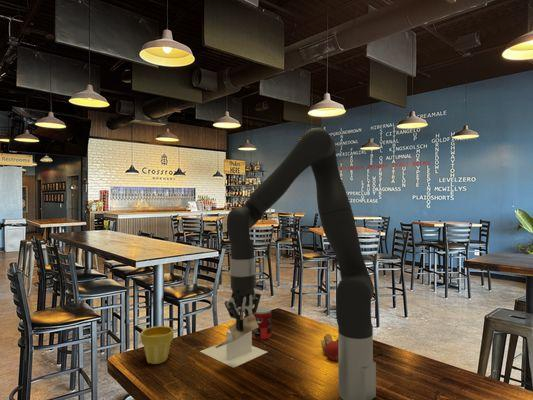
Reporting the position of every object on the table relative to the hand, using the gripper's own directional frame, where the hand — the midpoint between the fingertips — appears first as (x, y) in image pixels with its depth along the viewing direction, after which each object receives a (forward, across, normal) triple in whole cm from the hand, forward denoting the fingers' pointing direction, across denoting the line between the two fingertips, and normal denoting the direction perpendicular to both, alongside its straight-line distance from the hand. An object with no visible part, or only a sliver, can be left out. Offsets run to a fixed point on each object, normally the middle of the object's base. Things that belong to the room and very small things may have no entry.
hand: (244, 329), depth 111 cm
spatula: (+3, 0, +2) cm, 3 cm away
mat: (+14, +9, +15) cm, 23 cm away
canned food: (+15, +26, +18) cm, 35 cm away
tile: (+14, +9, +12) cm, 21 cm away
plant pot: (+14, -12, +30) cm, 36 cm away
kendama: (+15, +33, -9) cm, 38 cm away
